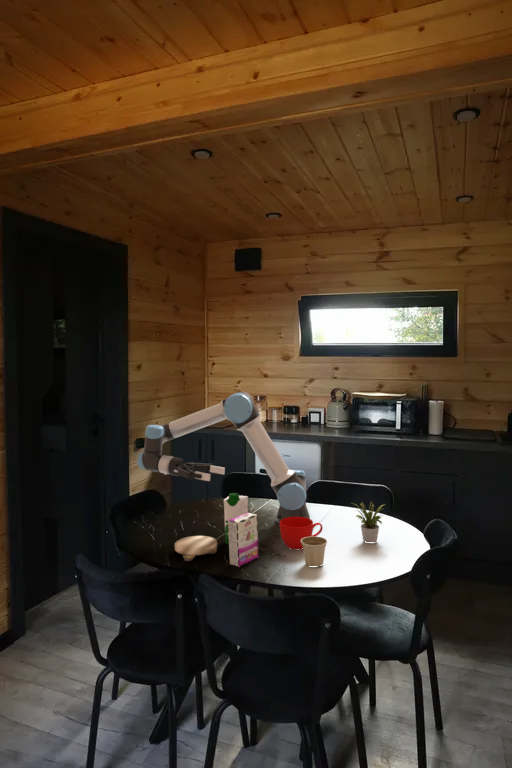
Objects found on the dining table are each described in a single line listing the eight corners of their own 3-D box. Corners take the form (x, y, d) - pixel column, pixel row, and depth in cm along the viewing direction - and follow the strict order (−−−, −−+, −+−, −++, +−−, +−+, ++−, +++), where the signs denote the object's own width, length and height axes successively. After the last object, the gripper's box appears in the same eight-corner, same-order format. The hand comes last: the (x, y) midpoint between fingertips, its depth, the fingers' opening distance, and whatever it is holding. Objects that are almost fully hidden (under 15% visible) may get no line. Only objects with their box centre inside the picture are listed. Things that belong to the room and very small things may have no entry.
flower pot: (299, 560, 191) (298, 536, 190) (324, 558, 192) (324, 535, 191) (303, 570, 181) (303, 546, 181) (330, 569, 182) (330, 544, 182)
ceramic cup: (327, 551, 199) (327, 525, 198) (283, 554, 196) (283, 528, 195) (317, 539, 211) (317, 514, 211) (276, 542, 209) (276, 517, 208)
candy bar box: (248, 554, 197) (248, 511, 196) (259, 557, 193) (258, 514, 192) (228, 564, 188) (227, 519, 187) (238, 567, 185) (237, 522, 184)
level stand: (224, 548, 204) (223, 538, 203) (205, 564, 189) (205, 553, 188) (187, 543, 209) (187, 533, 209) (167, 558, 194) (166, 548, 194)
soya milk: (222, 544, 207) (221, 495, 206) (231, 537, 216) (229, 489, 215) (243, 547, 205) (242, 496, 203) (251, 539, 213) (250, 490, 212)
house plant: (345, 545, 204) (344, 504, 203) (352, 533, 217) (351, 495, 216) (382, 550, 199) (382, 507, 198) (387, 537, 211) (387, 497, 210)
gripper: (185, 469, 232) (229, 477, 225) (155, 480, 209) (202, 490, 202) (187, 452, 232) (230, 460, 224) (156, 462, 209) (203, 471, 201)
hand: (217, 474), depth 213 cm, fingers open, 13 cm apart
